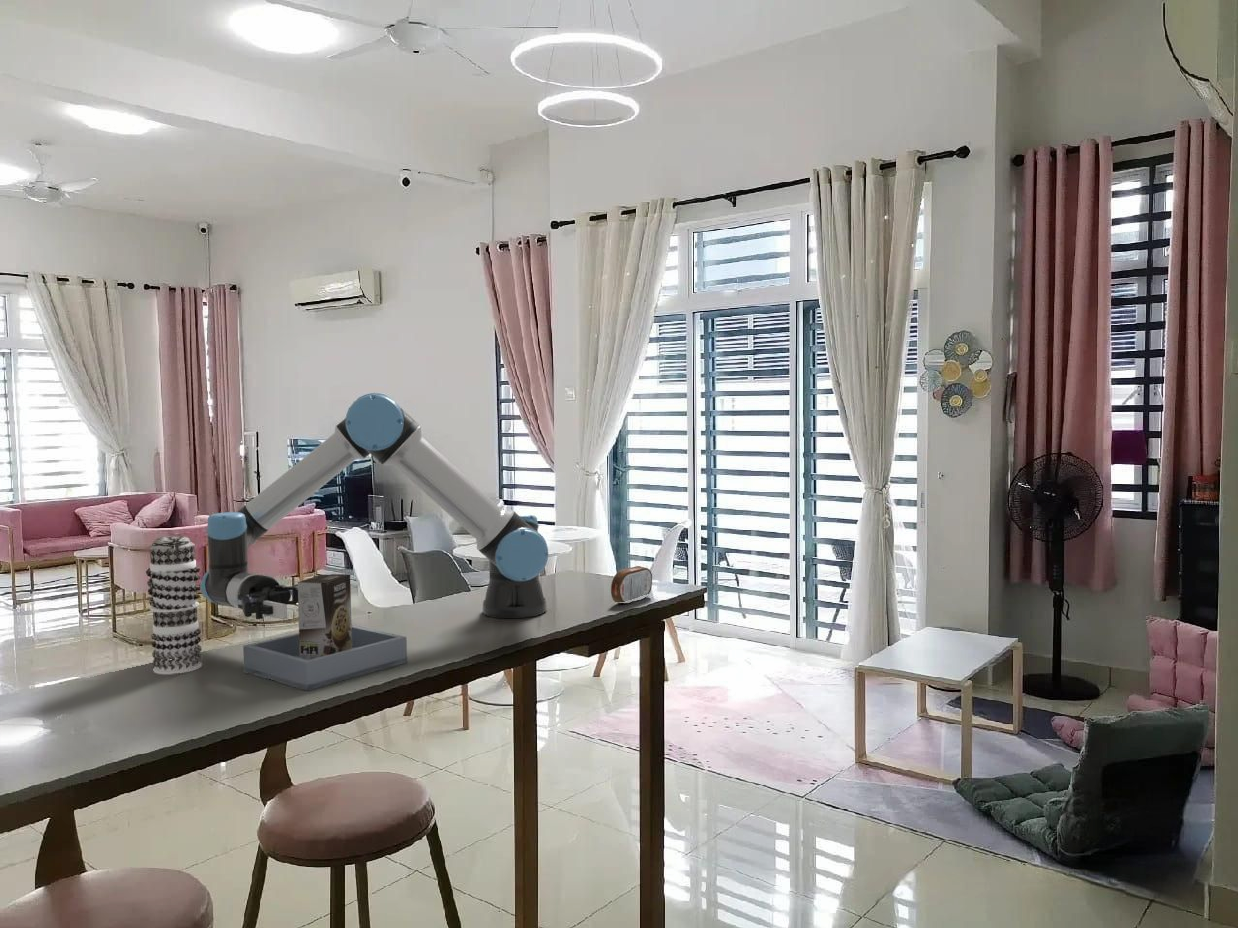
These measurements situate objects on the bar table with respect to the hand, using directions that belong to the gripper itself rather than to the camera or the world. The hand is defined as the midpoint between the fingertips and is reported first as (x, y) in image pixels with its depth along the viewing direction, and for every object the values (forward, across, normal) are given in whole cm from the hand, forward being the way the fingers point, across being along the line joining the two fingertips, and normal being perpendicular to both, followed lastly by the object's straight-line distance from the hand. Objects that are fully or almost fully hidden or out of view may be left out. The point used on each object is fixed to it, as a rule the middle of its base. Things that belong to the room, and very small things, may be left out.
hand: (317, 605), depth 178 cm
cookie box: (+2, 0, -11) cm, 11 cm away
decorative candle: (-21, +16, -12) cm, 29 cm away
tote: (+2, 0, -12) cm, 12 cm away
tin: (+14, -81, -12) cm, 83 cm away
